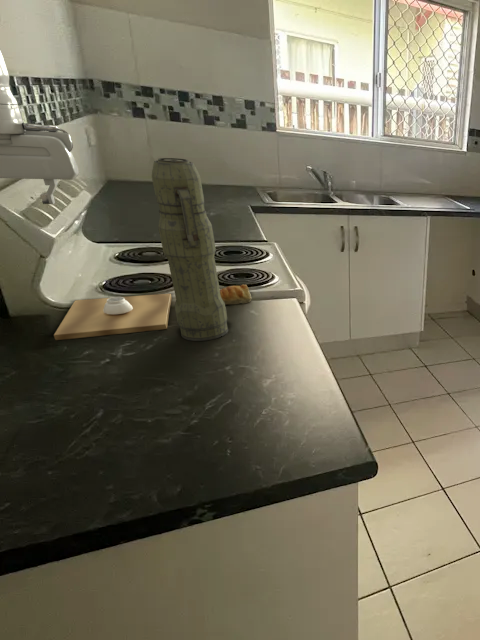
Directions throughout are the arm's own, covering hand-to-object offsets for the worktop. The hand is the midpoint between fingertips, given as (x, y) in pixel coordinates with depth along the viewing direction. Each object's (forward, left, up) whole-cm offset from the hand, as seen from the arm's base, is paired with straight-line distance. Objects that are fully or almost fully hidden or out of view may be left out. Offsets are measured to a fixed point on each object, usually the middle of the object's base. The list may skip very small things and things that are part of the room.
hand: (14, 203), depth 86 cm
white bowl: (+10, +4, -24) cm, 26 cm away
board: (+10, +4, -25) cm, 27 cm away
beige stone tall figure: (+26, -10, -25) cm, 38 cm away
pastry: (+32, +8, -25) cm, 41 cm away
